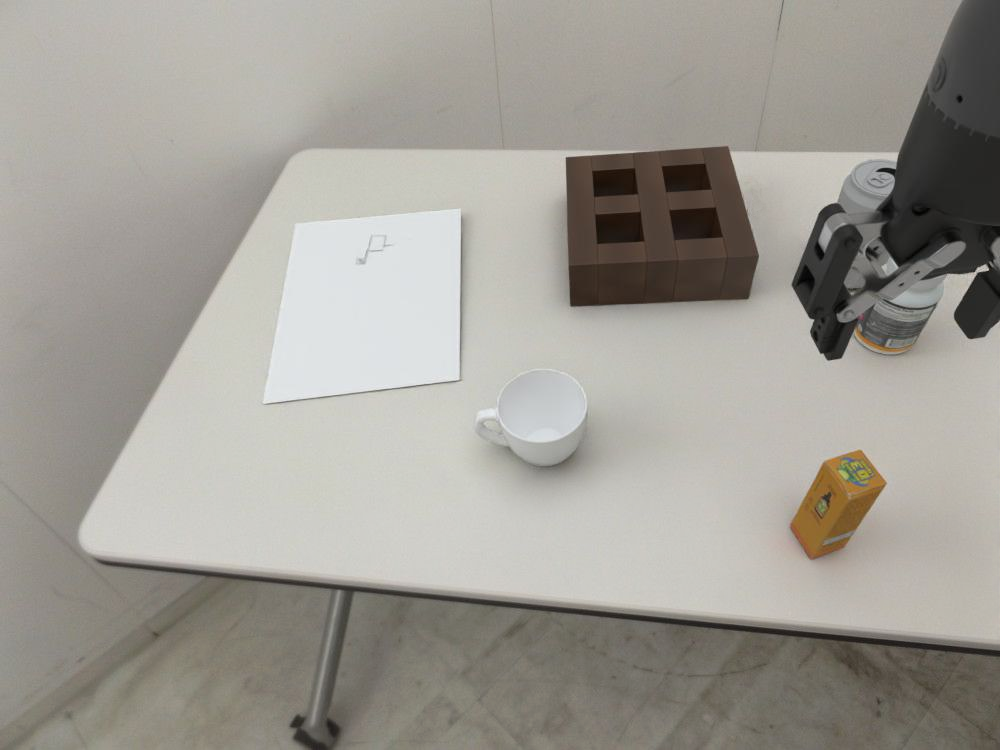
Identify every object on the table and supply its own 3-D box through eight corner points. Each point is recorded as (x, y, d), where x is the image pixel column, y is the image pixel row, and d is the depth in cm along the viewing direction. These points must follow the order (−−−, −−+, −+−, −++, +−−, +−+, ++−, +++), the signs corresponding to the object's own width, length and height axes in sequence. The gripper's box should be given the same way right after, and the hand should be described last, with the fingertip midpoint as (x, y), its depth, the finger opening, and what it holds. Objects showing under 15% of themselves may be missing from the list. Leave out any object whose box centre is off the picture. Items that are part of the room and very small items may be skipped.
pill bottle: (862, 306, 69) (895, 229, 62) (923, 327, 67) (965, 249, 59) (843, 343, 67) (875, 267, 59) (905, 366, 64) (947, 290, 57)
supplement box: (849, 547, 54) (892, 485, 47) (810, 561, 54) (846, 501, 46) (825, 511, 56) (862, 446, 49) (786, 524, 56) (818, 460, 48)
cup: (591, 481, 60) (590, 440, 55) (478, 486, 61) (467, 445, 56) (585, 410, 65) (584, 365, 60) (481, 415, 66) (471, 371, 61)
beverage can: (894, 273, 72) (938, 177, 62) (852, 302, 70) (892, 207, 61) (842, 243, 75) (877, 147, 66) (802, 269, 74) (832, 175, 64)
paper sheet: (482, 212, 85) (481, 205, 84) (457, 408, 68) (455, 402, 67) (300, 219, 88) (297, 212, 87) (233, 408, 71) (229, 402, 70)
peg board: (721, 189, 83) (728, 145, 79) (748, 298, 72) (759, 255, 67) (567, 198, 85) (565, 156, 81) (570, 306, 74) (568, 265, 69)
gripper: (902, 164, 27) (804, 406, 39) (1269, 106, 27) (1052, 368, 39) (825, 70, 32) (759, 313, 44) (1135, 20, 31) (980, 279, 44)
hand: (897, 338), depth 42 cm, fingers open, 8 cm apart
